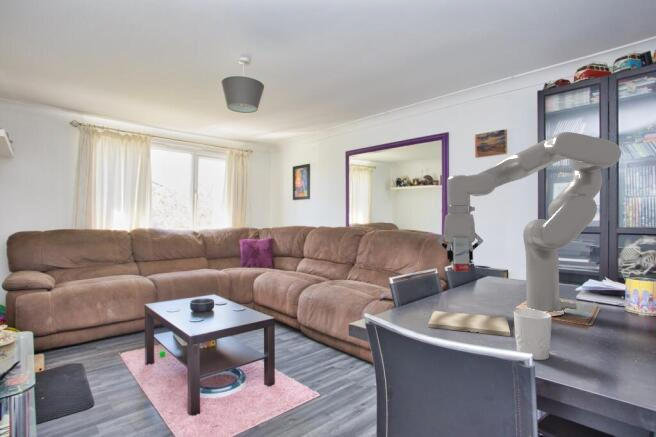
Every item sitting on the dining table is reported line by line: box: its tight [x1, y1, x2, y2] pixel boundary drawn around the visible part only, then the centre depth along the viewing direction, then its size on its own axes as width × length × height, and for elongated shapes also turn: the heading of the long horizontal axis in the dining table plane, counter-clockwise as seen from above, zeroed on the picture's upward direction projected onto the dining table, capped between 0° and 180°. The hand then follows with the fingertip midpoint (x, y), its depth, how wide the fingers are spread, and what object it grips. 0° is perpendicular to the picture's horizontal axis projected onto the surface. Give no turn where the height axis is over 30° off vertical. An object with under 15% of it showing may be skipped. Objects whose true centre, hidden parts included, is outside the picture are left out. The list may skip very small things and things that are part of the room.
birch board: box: [428, 310, 511, 337], centre depth 106 cm, size 22×14×1 cm, turn 66°
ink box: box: [451, 237, 471, 273], centre depth 121 cm, size 9×5×12 cm, turn 168°
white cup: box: [513, 308, 553, 361], centre depth 83 cm, size 8×8×10 cm
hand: (460, 261), depth 121 cm, fingers closed on ink box, 5 cm apart
